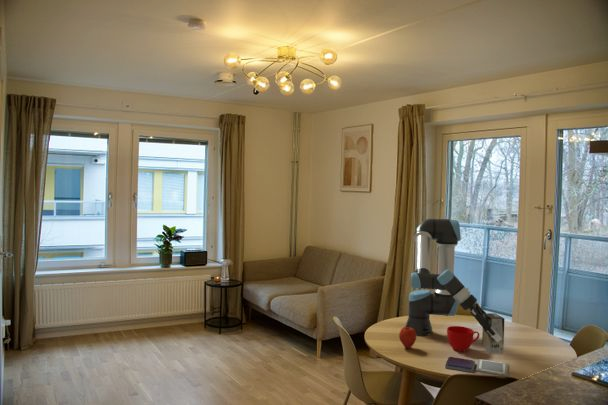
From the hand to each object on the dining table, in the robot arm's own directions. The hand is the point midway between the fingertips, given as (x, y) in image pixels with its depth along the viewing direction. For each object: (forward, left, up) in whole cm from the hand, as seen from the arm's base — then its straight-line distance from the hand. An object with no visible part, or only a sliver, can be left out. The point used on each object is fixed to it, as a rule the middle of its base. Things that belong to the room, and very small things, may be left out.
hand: (500, 336), depth 215 cm
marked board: (-3, 0, -15) cm, 15 cm away
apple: (-43, +9, -15) cm, 47 cm away
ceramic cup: (-17, +21, -15) cm, 31 cm away
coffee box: (-3, 0, -7) cm, 8 cm away
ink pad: (-16, -4, -15) cm, 22 cm away
